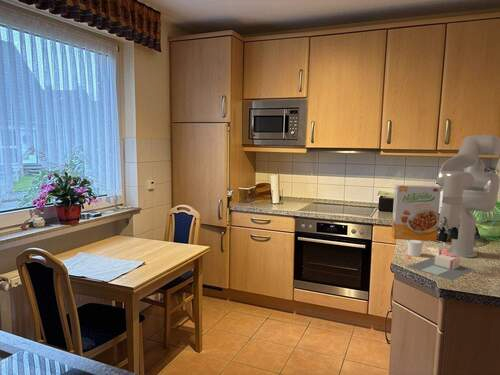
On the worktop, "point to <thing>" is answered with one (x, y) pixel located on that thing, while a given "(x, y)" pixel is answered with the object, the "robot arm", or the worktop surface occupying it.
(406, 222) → the cereal box
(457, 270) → the mat
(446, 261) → the card box
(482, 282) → the worktop surface
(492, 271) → the worktop surface
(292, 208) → the worktop surface
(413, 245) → the white cup
